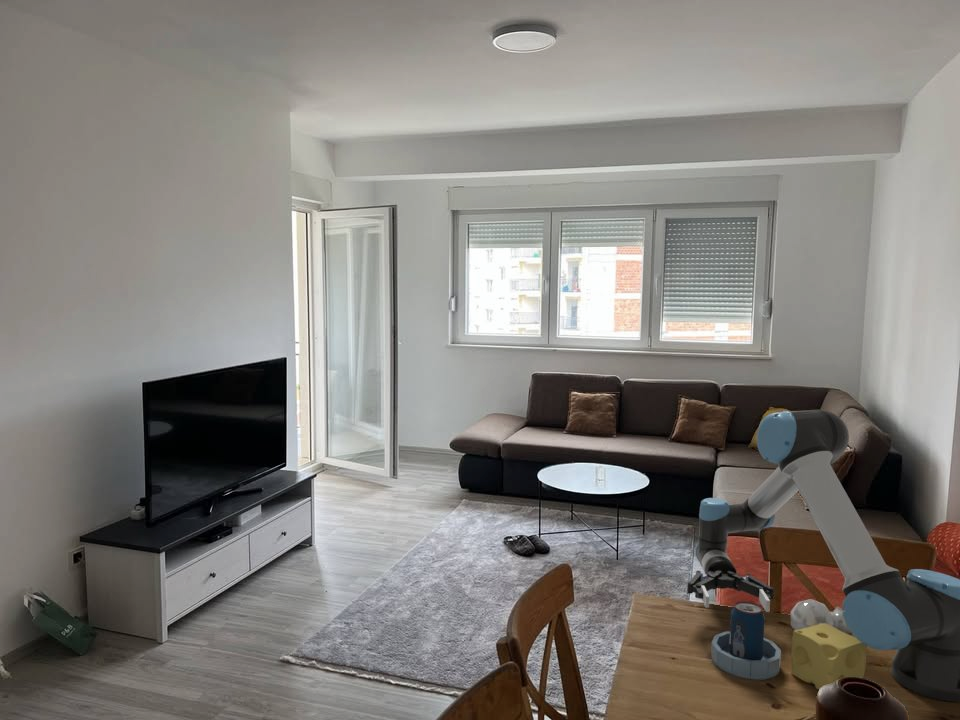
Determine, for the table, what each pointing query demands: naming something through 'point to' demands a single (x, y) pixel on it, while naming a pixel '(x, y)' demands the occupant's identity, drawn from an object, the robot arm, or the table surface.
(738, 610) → the soda can
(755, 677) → the bowl
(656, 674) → the table surface
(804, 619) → the potion bottle
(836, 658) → the cheese
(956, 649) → the robot arm
